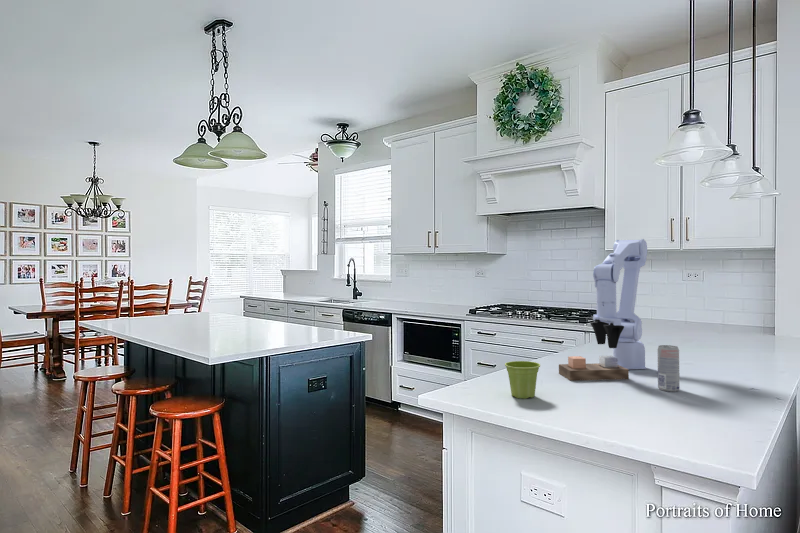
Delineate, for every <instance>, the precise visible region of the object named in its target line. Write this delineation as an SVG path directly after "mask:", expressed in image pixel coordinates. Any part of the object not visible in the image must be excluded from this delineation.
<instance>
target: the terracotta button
mask: <svg viewBox="0 0 800 533" xmlns="http://www.w3.org/2000/svg"><path fill="white" fill-rule="evenodd" d="M567 358H568V359H567V360H568V361H567V362H568V363H567V364H568V366H569V367H571V368H573V369H579V368H586V364H587V361H586V357H583V356H580V355H579V356H578V355H577V356H575V355H573V356H567Z"/></svg>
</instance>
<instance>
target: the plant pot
mask: <svg viewBox="0 0 800 533" xmlns="http://www.w3.org/2000/svg"><path fill="white" fill-rule="evenodd" d="M504 366H505V368H506V371H507V374H508V380H509V388H510V393H511V397H515V398H517V399H528V398H530V399H531V398H534V397H535V396H536V389H537V388H536V387H537V379H538V372H539V369H540V368H541V363H539V362H535V361H528V360H526V361H525V360H514V361H507V362H505V363H504Z"/></svg>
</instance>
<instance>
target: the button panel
mask: <svg viewBox="0 0 800 533" xmlns="http://www.w3.org/2000/svg"><path fill="white" fill-rule="evenodd" d="M629 373H630V369H626V368H624V367H622V366H619V365H618V368H604V367H602V366H600V365H599V363H598V362H596V363H586V368H579V369H573V368H571V367H569V366H568V363H565V364H564V363H560V364H559V363H558V374H559V375H561V376H562V377H564V378H565V379H566V380H569V382H570V381H571V382H574V381H608V380H610V381H612V380H614V381H615V380H630V378H629V377H630V374H629Z"/></svg>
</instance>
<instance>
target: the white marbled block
mask: <svg viewBox="0 0 800 533" xmlns="http://www.w3.org/2000/svg"><path fill="white" fill-rule="evenodd" d="M598 360H599V365H600V366H602V367H604V368H618V358H616V357H614V356H613V355H599V358H598Z"/></svg>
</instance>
